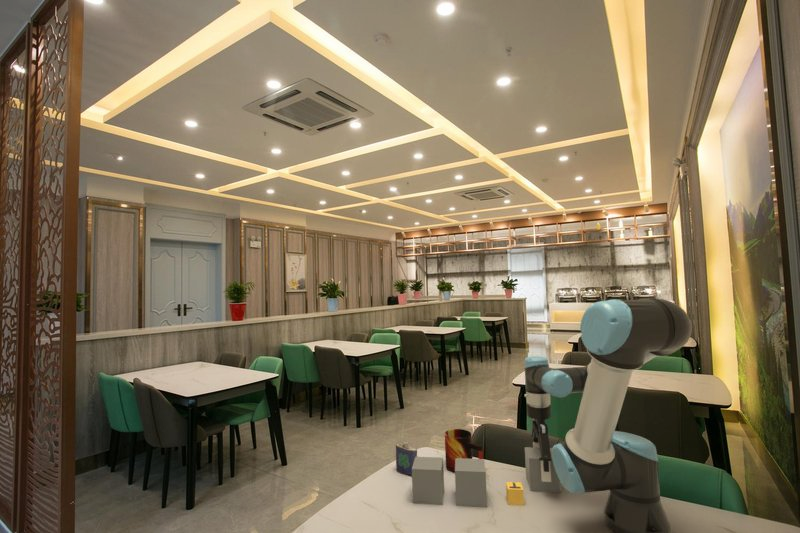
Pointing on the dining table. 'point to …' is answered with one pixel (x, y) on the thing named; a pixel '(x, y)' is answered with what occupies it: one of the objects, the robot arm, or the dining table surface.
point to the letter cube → (514, 493)
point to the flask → (405, 458)
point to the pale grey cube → (539, 472)
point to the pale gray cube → (470, 482)
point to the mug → (459, 447)
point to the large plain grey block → (428, 480)
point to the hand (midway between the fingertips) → (542, 471)
